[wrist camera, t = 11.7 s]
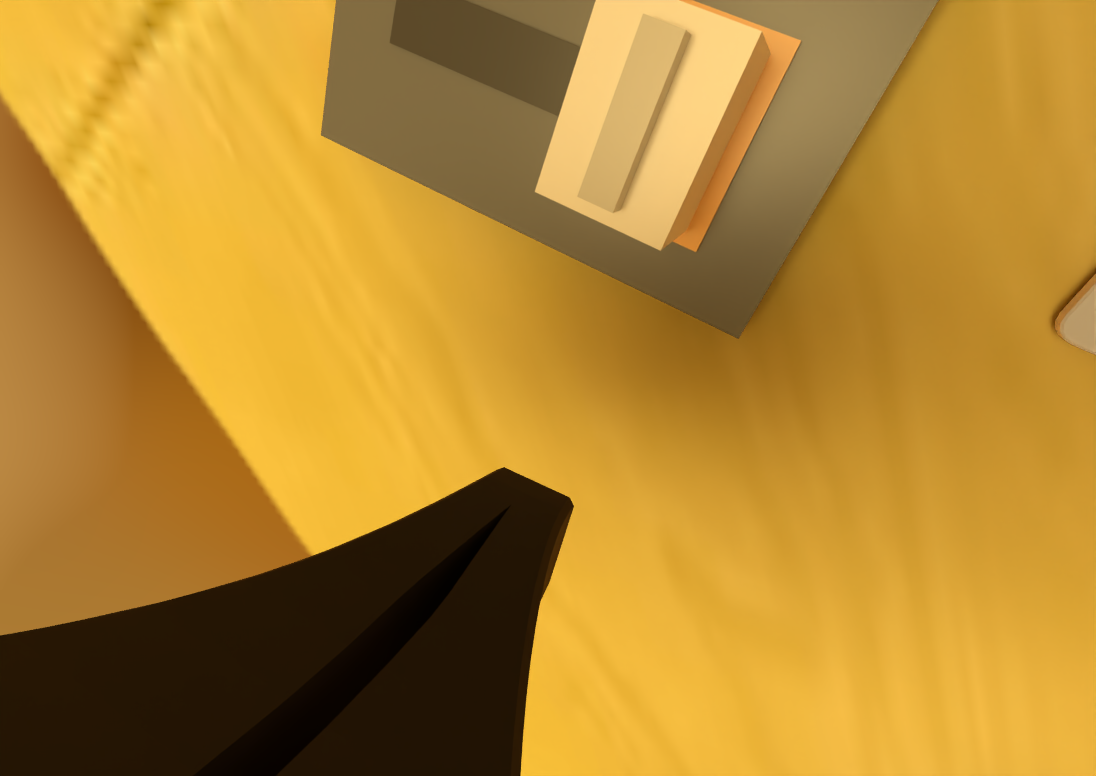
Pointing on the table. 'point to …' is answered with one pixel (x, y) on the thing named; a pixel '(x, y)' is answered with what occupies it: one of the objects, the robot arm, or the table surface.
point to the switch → (650, 114)
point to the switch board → (536, 100)
